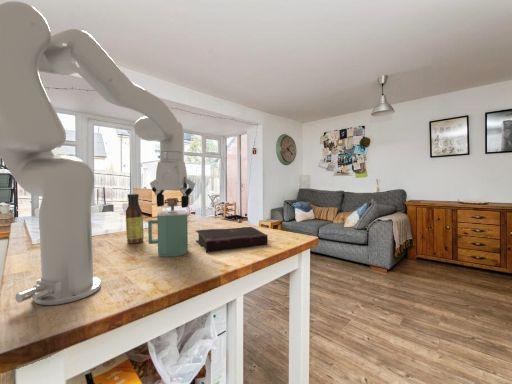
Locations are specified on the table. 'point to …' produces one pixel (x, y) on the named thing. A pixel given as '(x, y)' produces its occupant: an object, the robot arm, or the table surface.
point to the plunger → (172, 203)
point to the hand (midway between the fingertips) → (172, 206)
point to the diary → (230, 238)
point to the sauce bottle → (134, 220)
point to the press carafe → (170, 233)
